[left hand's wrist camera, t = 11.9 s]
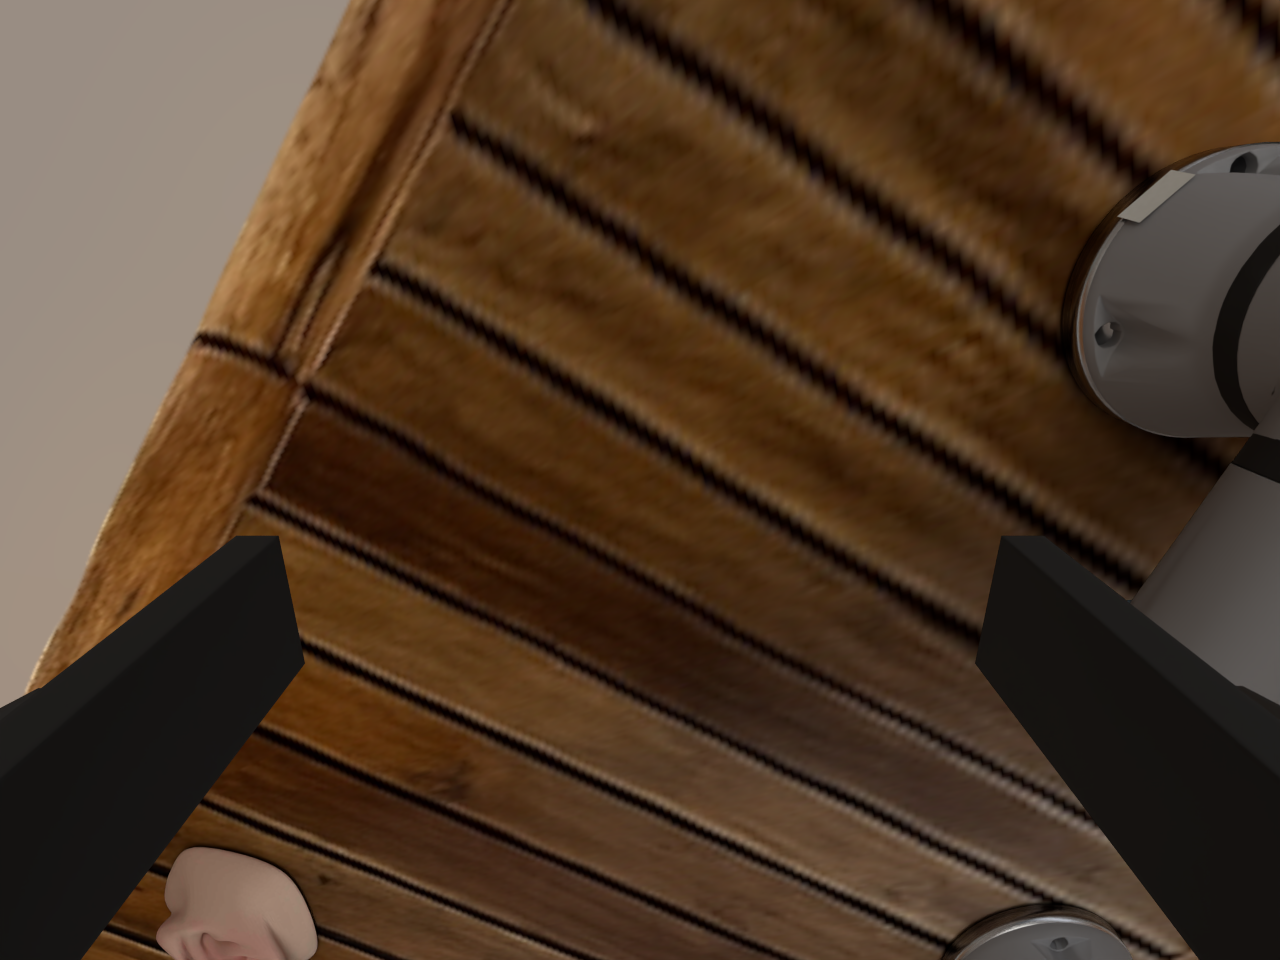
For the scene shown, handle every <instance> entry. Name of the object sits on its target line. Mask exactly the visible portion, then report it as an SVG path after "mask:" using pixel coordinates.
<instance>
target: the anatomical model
mask: <svg viewBox="0 0 1280 960" xmlns="http://www.w3.org/2000/svg"><path fill="white" fill-rule="evenodd" d="M165 901H166V904H167V906H168V908H169V910H170V911H171V913H172V914H171V916H170V917H169V918H168V919H167V920H166V921H165V922H164V923H163V924H162V925H161V927H160V928H159V930H158V932H157V935H156V939H157V942H158V943H159V945H160V946H161V947H162V948H163V949H164V950H165V951H166V952H167V953H168V954H170V955H171V956H172V957H173V958H174V959H175V960H308V959H309V958H310V957H312V956H313V955H314V953H315V952H316V949H317V935H316V930H315V926H314V923H313V920H312V917H311V914H310V912H309V910H308V907H307V905H306V903H305V900H304V898H303V896H302V895H301V893H300V891H299V890H298V888H297V886H296V885H295V884H294V882H293V881H292V880H291V879H290V878H289V877H288V876H287V875H286V874H285V873H284V872H282V871H281V870H279V869H278V868H276V867H275V866H273V865H271V864H269V863H266V862H264V861H261V860H259V859H256V858H253V857H249V856H246V855H243V854H239V853H235V852H230V851H225V850H221V849H214V848H207V847H194V848H189V849H186V850H184V851H183V852H182V853H181V854H180V855H179V856H178V858H177V859H176V861H175V862H174V865H173V867H172V869H171V871H170V874H169V876H168V879H167V883H166V889H165Z"/></svg>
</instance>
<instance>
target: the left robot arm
mask: <svg viewBox="0 0 1280 960" xmlns="http://www.w3.org/2000/svg"><path fill="white" fill-rule="evenodd" d="M1062 336H1063V346H1064V351H1065V355H1066V359H1067V362H1068V365H1069V368H1070V370H1071V373H1072V375H1073V377H1074V379H1075V381H1076V382H1077V384H1078V385H1079V387H1080V389H1081V390H1082V391H1083V392H1084V394H1085V395H1086V396H1087V397H1088V398H1089V399H1090V400H1091V401H1092V402H1093V403H1094V404H1095V405H1096V406H1097V407H1099V408H1100V409H1101V410H1103V411H1104V412H1106V413H1107V414H1109V415H1111V416H1113V417H1114V418H1116V419H1119V420H1121V421H1124V422H1126V423H1128V424H1131V425H1133V426H1136V427H1138V428H1140V429H1143V430H1145V431H1148V432H1151V433H1155V434H1158V435H1164V436H1169V437H1181V438H1194V437H1250V438H1249V439H1248V441H1247V442H1246V444H1245V445H1244V446H1243V448H1242V449H1241V451H1240V452H1239V453H1238V455H1237V456H1236V458H1235V459H1234V460H1233V461H1232V463H1230V465H1229V466H1228V467H1227V469H1226V470H1225V472H1224V473H1223V474H1222V476H1221V477H1220V479H1219V480H1218V481H1217V483H1216V484H1215V486H1214V487H1213V488H1212V490H1211V491H1210V492H1209V494H1208V495H1207V497H1206V498H1205V499H1204V501H1203V502H1202V504H1201V505H1200V506H1199V508H1198V509H1197V511H1196V512H1195V513H1194V515H1193V516H1192V518H1191V519H1190V520H1189V522H1188V523H1187V524H1186V526H1185V527H1184V529H1183V530H1182V531H1181V533H1180V534H1179V536H1178V537H1177V538H1176V540H1175V541H1174V543H1173V544H1172V545H1171V547H1170V548H1169V550H1168V551H1167V552H1166V554H1165V555H1164V557H1163V558H1162V559H1161V561H1160V562H1159V563H1158V565H1157V566H1156V568H1155V569H1154V570H1153V572H1152V573H1151V575H1150V576H1149V577H1148V579H1147V580H1146V582H1145V583H1144V584H1143V586H1142V587H1141V589H1140V590H1139V591H1138V593H1137V594H1136V596H1135V597H1134V598H1133V600H1127V601H1126V600H1125V599H1124V598H1123V597H1121V596H1120V595H1119V594H1118V593H1116V592H1115V591H1114V590H1112V589H1111V588H1110V587H1109V586H1107V585H1106V584H1105V583H1103V582H1102V581H1101V580H1100V579H1098V578H1097V577H1096V576H1094V575H1093V574H1092V573H1091V572H1089V571H1088V570H1087V569H1086V568H1084V567H1083V566H1082V565H1080V564H1079V563H1078V562H1077V561H1075V560H1074V559H1073V558H1071V557H1070V556H1069V555H1068V554H1066V553H1065V552H1064V551H1062V550H1061V549H1060V548H1059V547H1057V546H1056V545H1055V544H1053V543H1052V542H1051V541H1050V540H1048V539H1047V538H1046V537H1045V536H1001V541H1000V545H999V550H998V555H997V560H996V565H995V570H994V574H993V579H992V584H991V589H990V594H989V599H988V604H987V608H986V613H985V618H984V623H983V628H982V633H981V637H980V642H979V647H978V652H977V657H976V662H975V664H976V665H977V667H978V668H979V669H980V671H981V672H982V673H983V674H984V676H985V677H986V678H987V680H988V681H989V682H990V684H991V685H992V686H993V688H994V689H995V690H996V692H997V693H998V694H999V696H1000V697H1001V698H1002V700H1003V701H1004V702H1005V704H1006V705H1007V706H1008V708H1009V709H1010V710H1011V711H1012V713H1013V714H1014V715H1015V717H1016V718H1017V719H1018V721H1019V722H1020V723H1021V725H1022V726H1023V727H1024V729H1025V730H1026V731H1027V733H1028V734H1029V735H1030V737H1031V738H1032V739H1033V741H1034V742H1035V743H1036V745H1037V746H1038V747H1039V748H1040V750H1041V751H1042V752H1043V754H1044V755H1045V756H1046V758H1047V759H1048V760H1049V762H1050V763H1051V764H1052V766H1053V767H1054V768H1055V770H1056V771H1057V772H1058V774H1059V775H1060V776H1061V778H1062V779H1063V780H1064V781H1065V783H1066V784H1067V785H1068V787H1069V788H1070V789H1071V791H1072V792H1073V793H1074V795H1075V796H1076V797H1077V799H1078V800H1079V801H1080V803H1081V804H1082V805H1083V807H1084V808H1085V809H1086V811H1087V812H1088V813H1089V815H1090V816H1091V817H1092V818H1093V820H1094V821H1095V822H1096V824H1097V825H1098V826H1099V828H1100V829H1101V830H1102V832H1103V833H1104V834H1105V836H1106V837H1107V838H1108V840H1109V841H1110V842H1111V844H1112V845H1113V846H1114V848H1115V849H1116V850H1117V852H1118V853H1119V854H1120V855H1121V857H1122V858H1123V859H1124V861H1125V862H1126V863H1127V865H1128V866H1129V867H1130V869H1131V870H1132V871H1133V873H1134V874H1135V875H1136V877H1137V878H1138V879H1139V881H1140V882H1141V883H1142V885H1143V886H1144V887H1145V889H1146V890H1147V891H1148V892H1149V894H1150V895H1151V896H1152V898H1153V899H1154V900H1155V902H1156V903H1157V904H1158V906H1159V907H1160V908H1161V910H1162V911H1163V912H1164V914H1165V915H1166V916H1167V918H1168V919H1169V920H1170V922H1171V923H1172V924H1173V926H1174V927H1175V928H1176V929H1177V931H1178V932H1179V933H1180V935H1181V936H1182V937H1183V939H1184V940H1185V941H1186V943H1187V944H1188V945H1189V947H1190V948H1191V949H1192V951H1193V952H1194V953H1195V955H1196V956H1197V957H1198V959H1199V960H1280V142H1262V143H1254V144H1246V145H1238V146H1230V147H1222V148H1217V149H1212V150H1208V151H1204V152H1201V153H1198V154H1195V155H1192V156H1189V157H1187V158H1184V159H1182V160H1180V161H1177V162H1175V163H1173V164H1171V165H1170V166H1168V167H1166V168H1164V169H1162V170H1160V171H1159V172H1157V173H1156V174H1154V175H1152V176H1151V177H1149V178H1148V179H1146V180H1145V181H1144V182H1142V183H1141V184H1140V185H1138V186H1137V187H1136V188H1134V189H1133V190H1132V191H1131V192H1130V193H1129V194H1128V195H1127V196H1125V197H1124V198H1123V199H1122V200H1121V201H1120V202H1119V203H1118V204H1117V205H1116V206H1115V207H1114V208H1113V209H1112V210H1111V211H1110V213H1109V214H1108V215H1107V216H1106V217H1105V219H1104V220H1103V221H1102V222H1101V223H1100V225H1099V226H1098V228H1097V229H1096V230H1095V232H1094V233H1093V235H1092V236H1091V238H1090V239H1089V241H1088V243H1087V244H1086V246H1085V248H1084V249H1083V251H1082V253H1081V255H1080V257H1079V259H1078V261H1077V263H1076V266H1075V268H1074V271H1073V273H1072V276H1071V278H1070V282H1069V285H1068V289H1067V292H1066V297H1065V302H1064V307H1063V317H1062ZM304 664H305V662H304V657H303V652H302V647H301V642H300V637H299V633H298V628H297V623H296V618H295V613H294V608H293V604H292V599H291V594H290V589H289V584H288V579H287V575H286V570H285V565H284V560H283V555H282V550H281V545H280V541H279V536H235V537H234V538H233V539H232V540H230V541H229V542H228V543H227V544H225V545H224V546H223V547H221V548H220V549H219V550H218V551H216V552H215V553H214V554H212V555H211V556H210V557H209V558H207V559H206V560H205V561H203V562H202V563H201V564H200V565H198V566H197V567H196V568H194V569H193V570H192V571H191V572H189V573H188V574H187V575H186V576H184V577H183V578H182V579H180V580H179V581H178V582H177V583H175V584H174V585H173V586H171V587H170V588H169V589H168V590H166V591H165V592H164V593H162V594H161V595H160V596H159V597H157V598H156V599H155V600H154V601H152V602H151V603H150V604H148V605H147V606H146V607H145V608H143V609H142V610H141V611H139V612H138V613H137V614H136V615H134V616H133V617H132V618H130V619H129V620H128V621H127V622H125V623H124V624H123V625H121V626H120V627H119V628H118V629H116V630H115V631H114V632H113V633H111V634H110V635H109V636H107V637H106V638H105V639H104V640H102V641H101V642H100V643H98V644H97V645H96V646H95V647H93V648H92V649H91V650H89V651H88V652H87V653H86V654H84V655H83V656H82V657H81V658H79V659H78V660H77V661H75V662H74V663H73V664H72V665H70V666H69V667H68V668H66V669H65V670H64V671H63V672H61V673H60V674H59V675H57V676H56V677H55V678H54V679H52V680H51V681H50V682H48V683H47V684H46V685H45V686H43V687H42V688H38V689H36V690H34V691H32V692H30V693H28V694H26V695H24V696H22V697H21V698H19V699H17V700H15V701H13V702H11V703H9V704H7V705H5V706H3V707H1V708H0V960H81V959H82V957H83V956H84V955H85V953H86V952H87V951H88V949H89V948H90V947H91V945H92V944H93V943H94V941H95V940H96V939H97V937H98V936H99V935H100V933H101V932H102V931H103V929H104V928H105V927H106V926H107V924H108V923H109V922H110V920H111V919H112V918H113V916H114V915H115V914H116V912H117V911H118V910H119V908H120V907H121V906H122V904H123V903H124V902H125V900H126V899H127V898H128V896H129V895H130V894H131V892H132V891H133V890H134V889H135V887H136V886H137V885H138V883H139V882H140V881H141V879H142V878H143V877H144V875H145V874H146V873H147V871H148V870H149V869H150V867H151V866H152V865H153V863H154V862H155V861H156V859H157V858H158V857H159V855H160V854H161V853H162V852H163V850H164V849H165V848H166V846H167V845H168V844H169V842H170V841H171V840H172V838H173V837H174V836H175V834H176V833H177V832H178V830H179V829H180V828H181V826H182V825H183V824H184V822H185V821H186V820H187V818H188V817H189V816H190V815H191V813H192V812H193V811H194V809H195V808H196V807H197V805H198V804H199V803H200V801H201V800H202V799H203V797H204V796H205V795H206V793H207V792H208V791H209V789H210V788H211V787H212V785H213V784H214V783H215V781H216V780H217V779H218V778H219V776H220V775H221V774H222V772H223V771H224V770H225V768H226V767H227V766H228V764H229V763H230V762H231V760H232V759H233V758H234V756H235V755H236V754H237V752H238V751H239V750H240V748H241V747H242V746H243V745H244V743H245V742H246V741H247V739H248V738H249V737H250V735H251V734H252V733H253V731H254V730H255V729H256V727H257V726H258V725H259V723H260V722H261V721H262V719H263V718H264V717H265V715H266V714H267V713H268V711H269V710H270V709H271V708H272V706H273V705H274V704H275V702H276V701H277V700H278V698H279V697H280V696H281V694H282V693H283V692H284V690H285V689H286V688H287V686H288V685H289V684H290V682H291V681H292V680H293V678H294V677H295V676H296V674H297V673H298V672H299V671H300V669H301V668H302V667H303V665H304Z"/></svg>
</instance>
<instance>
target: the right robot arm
mask: <svg viewBox="0 0 1280 960" xmlns="http://www.w3.org/2000/svg"><path fill="white" fill-rule="evenodd" d="M942 960H1133V959H1132V957H1131V954H1130V953H1129V951H1128V949H1127V948H1126V946H1125V945H1124V943H1123V942H1122V940H1121V939H1120V937H1119V936H1118V934H1117V933H1116V931H1115V930H1114V929H1113V928H1112V927H1111V926H1110V925H1109V924H1108V923H1107V922H1106V921H1105V920H1103V919H1102V918H1100V917H1099V916H1097V915H1095V914H1093V913H1091V912H1088V911H1086V910H1082V909H1079V908H1075V907H1071V906H1064V905H1032V906H1025V907H1020V908H1016V909H1012V910H1008V911H1005V912H1002V913H999V914H996V915H994V916H991V917H989V918H987V919H985V920H983V921H981V922H979V923H978V924H976V925H974V926H973V927H971V928H970V929H969V930H967V931H966V932H965V933H963V934H962V935H961V936H960V937H959V938H958V939H957V940H956V941H955V942H954V943H953V944H952V945H951V946H950V948H949V949H948V951H947V952H946V954H945V955H944V957H943V959H942Z"/></svg>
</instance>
